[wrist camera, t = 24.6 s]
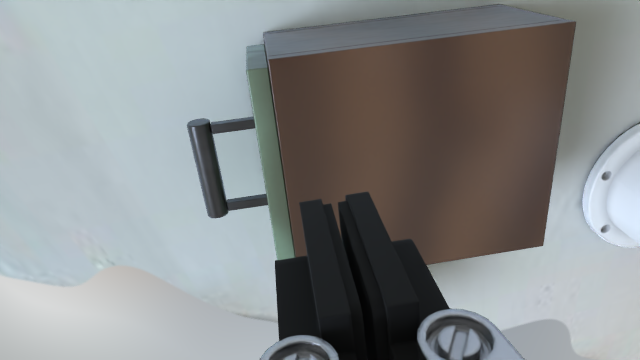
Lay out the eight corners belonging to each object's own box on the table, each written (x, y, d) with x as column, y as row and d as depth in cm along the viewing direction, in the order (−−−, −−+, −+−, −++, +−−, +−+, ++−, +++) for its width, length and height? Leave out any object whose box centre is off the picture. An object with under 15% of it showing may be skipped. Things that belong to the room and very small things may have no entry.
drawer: (220, 227, 37) (215, 283, 31) (181, 53, 31) (165, 80, 24) (464, 190, 38) (504, 236, 32) (473, 18, 32) (525, 35, 26)
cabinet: (289, 217, 38) (299, 285, 30) (262, 32, 31) (267, 59, 24) (486, 188, 39) (543, 246, 32) (500, 4, 33) (576, 21, 25)
